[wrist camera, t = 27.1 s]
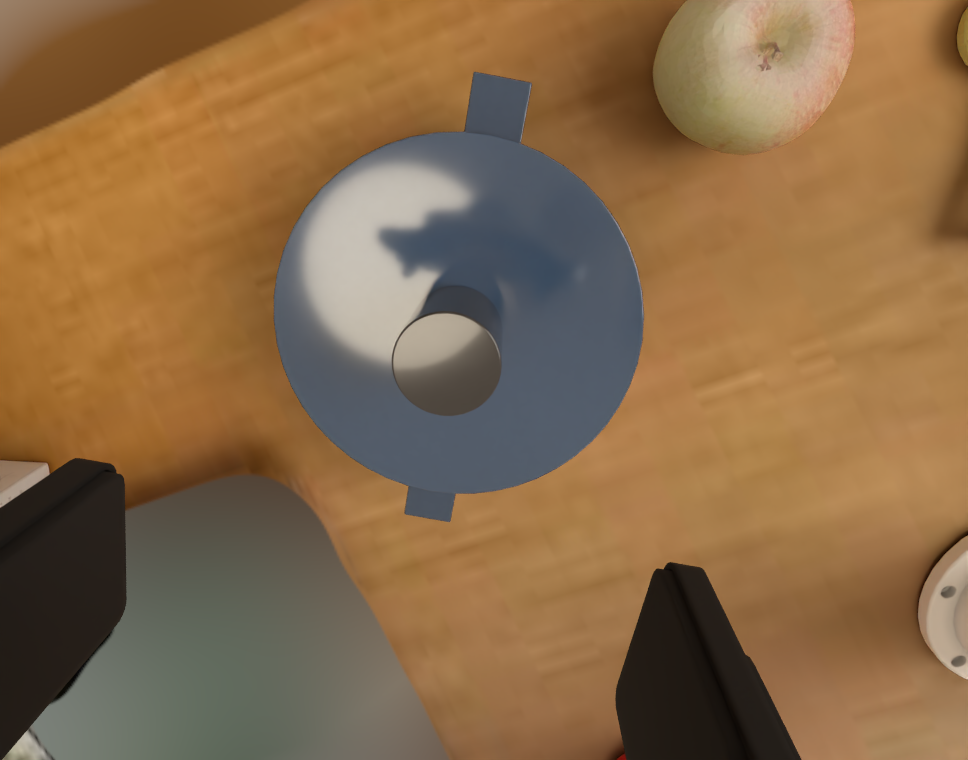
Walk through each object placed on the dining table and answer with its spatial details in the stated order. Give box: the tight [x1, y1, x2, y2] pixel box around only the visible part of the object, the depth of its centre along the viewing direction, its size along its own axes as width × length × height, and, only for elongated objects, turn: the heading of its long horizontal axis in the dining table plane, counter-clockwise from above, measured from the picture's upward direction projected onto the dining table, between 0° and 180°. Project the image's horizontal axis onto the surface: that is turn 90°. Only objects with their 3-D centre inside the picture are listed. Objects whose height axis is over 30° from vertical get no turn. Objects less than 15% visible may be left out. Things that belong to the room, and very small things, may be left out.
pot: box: [404, 72, 532, 522], centre depth 31 cm, size 15×21×6 cm
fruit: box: [653, 0, 855, 155], centre depth 26 cm, size 8×7×8 cm
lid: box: [274, 132, 644, 494], centre depth 25 cm, size 16×16×6 cm
